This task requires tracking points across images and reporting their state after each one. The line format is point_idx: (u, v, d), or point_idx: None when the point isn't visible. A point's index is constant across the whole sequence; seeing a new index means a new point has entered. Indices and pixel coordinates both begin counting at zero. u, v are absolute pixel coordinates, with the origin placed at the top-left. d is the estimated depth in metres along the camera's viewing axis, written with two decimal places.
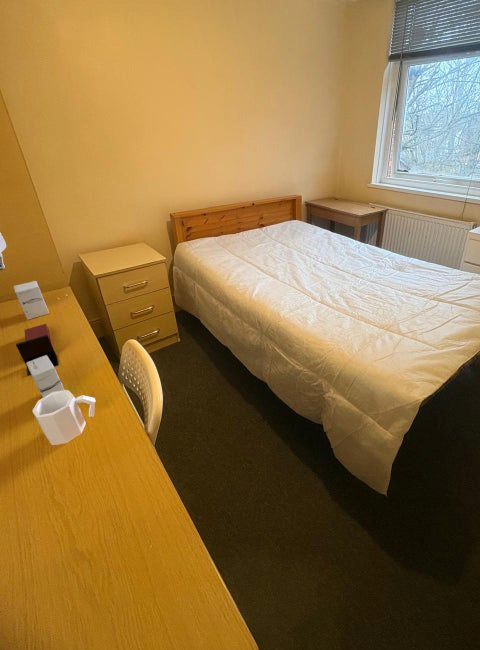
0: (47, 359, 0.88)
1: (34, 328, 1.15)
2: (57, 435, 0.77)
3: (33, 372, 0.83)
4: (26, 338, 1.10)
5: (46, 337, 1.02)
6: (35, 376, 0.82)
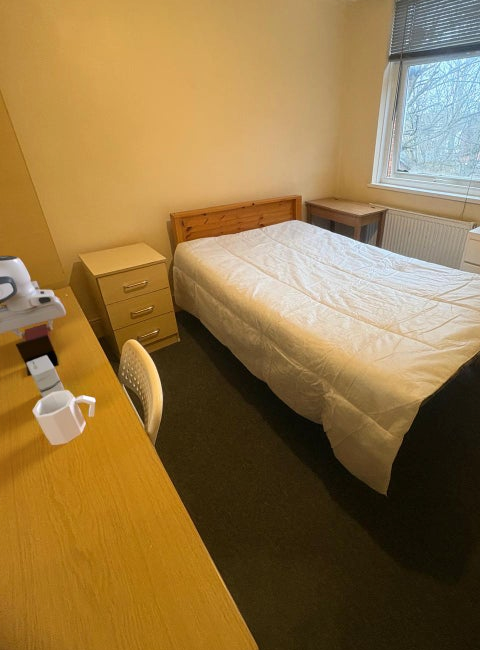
0: (47, 359, 0.88)
1: (34, 328, 1.15)
2: (57, 435, 0.77)
3: (33, 372, 0.83)
4: (26, 338, 1.10)
5: (46, 337, 1.02)
6: (35, 376, 0.82)
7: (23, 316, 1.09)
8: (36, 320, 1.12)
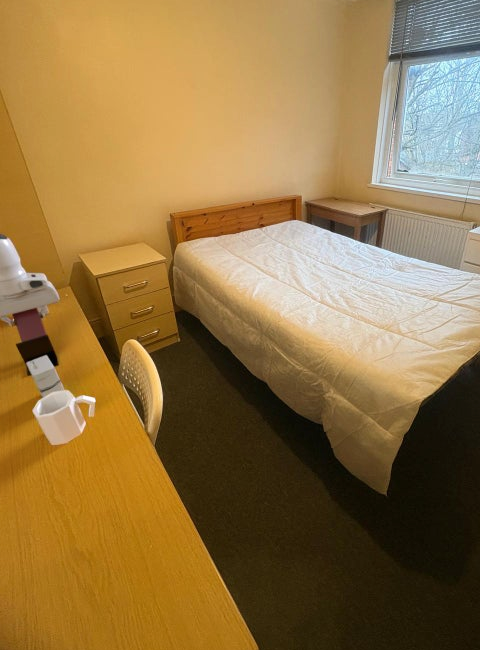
0: (47, 359, 0.88)
1: (24, 313, 1.05)
2: (57, 435, 0.77)
3: (33, 372, 0.83)
4: (20, 332, 1.04)
5: (46, 337, 1.02)
6: (35, 376, 0.82)
7: (12, 301, 1.00)
8: (27, 306, 1.02)
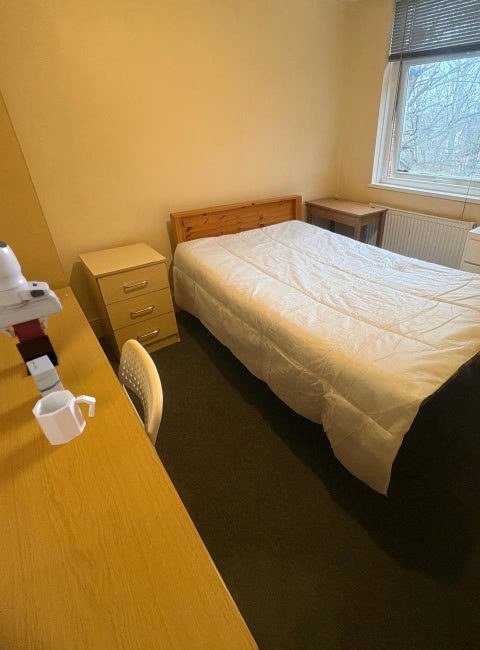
0: (47, 359, 0.88)
1: None
2: (57, 435, 0.77)
3: (33, 372, 0.83)
4: (20, 339, 1.00)
5: (46, 337, 1.02)
6: (35, 376, 0.82)
7: (12, 312, 0.94)
8: (28, 317, 0.97)
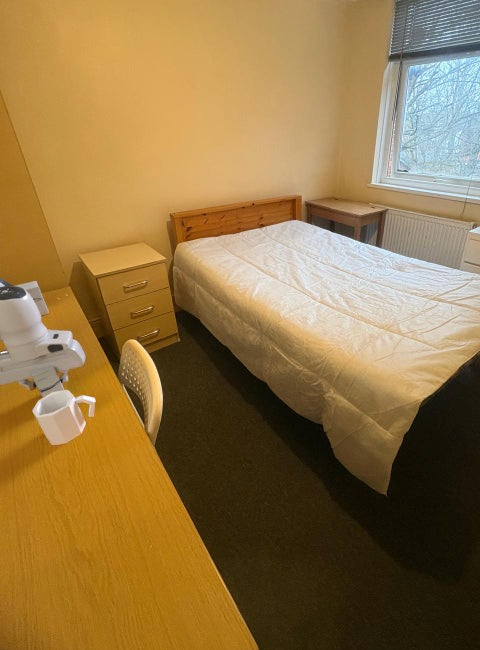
0: None
1: None
2: (57, 435, 0.77)
3: (33, 372, 0.83)
4: None
5: None
6: (35, 376, 0.82)
7: (30, 365, 0.83)
8: None
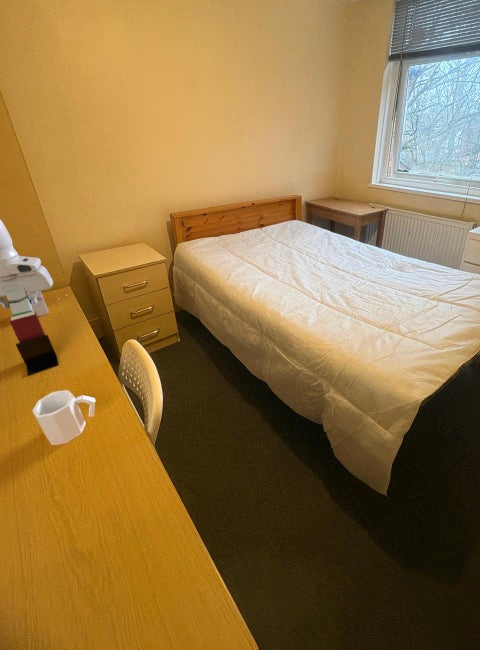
0: None
1: (23, 321, 0.98)
2: (57, 435, 0.77)
3: None
4: (20, 340, 0.99)
5: (46, 337, 1.02)
6: (5, 286, 0.97)
7: (3, 284, 0.98)
8: None
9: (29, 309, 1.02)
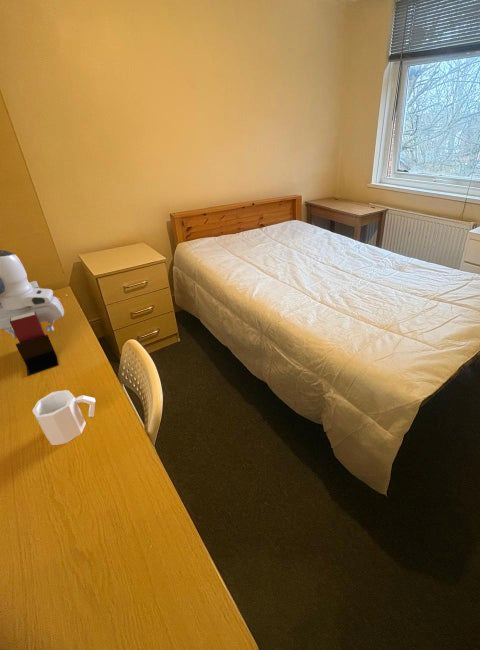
0: None
1: (23, 322, 0.98)
2: (57, 435, 0.77)
3: None
4: (20, 340, 0.99)
5: (46, 337, 1.02)
6: None
7: (18, 315, 1.03)
8: None
9: None
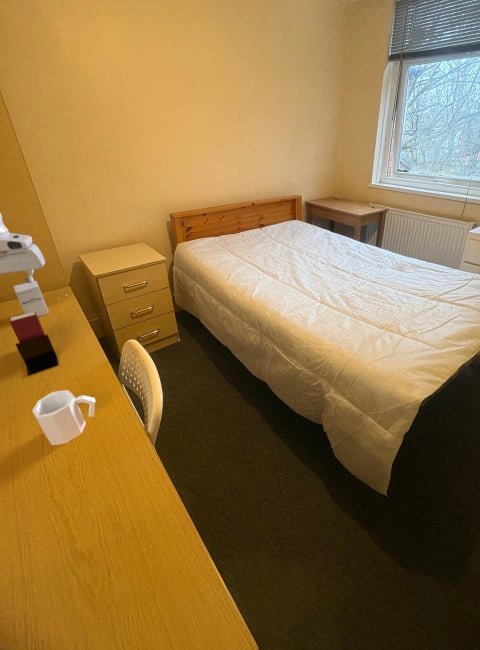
0: None
1: (23, 322, 0.98)
2: (57, 435, 0.77)
3: None
4: (20, 340, 0.99)
5: (46, 337, 1.02)
6: None
7: None
8: (7, 268, 0.96)
9: None
